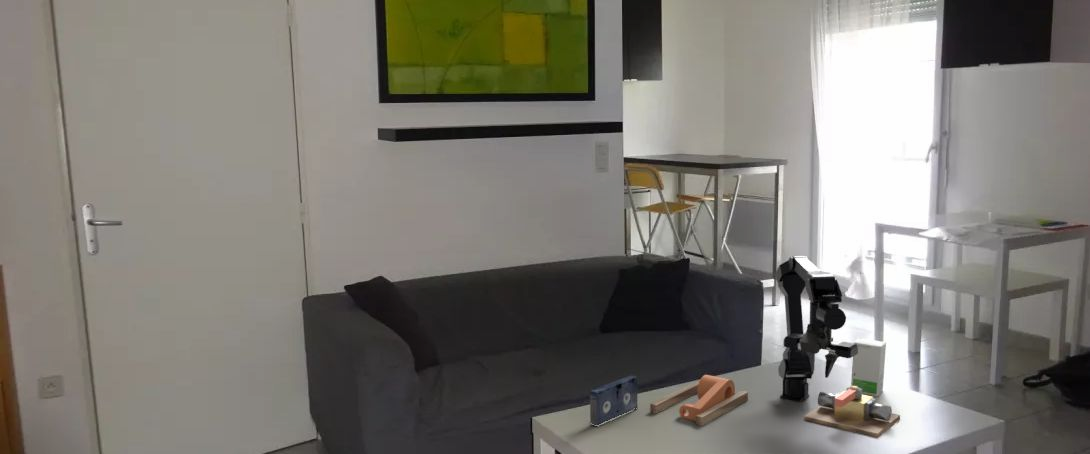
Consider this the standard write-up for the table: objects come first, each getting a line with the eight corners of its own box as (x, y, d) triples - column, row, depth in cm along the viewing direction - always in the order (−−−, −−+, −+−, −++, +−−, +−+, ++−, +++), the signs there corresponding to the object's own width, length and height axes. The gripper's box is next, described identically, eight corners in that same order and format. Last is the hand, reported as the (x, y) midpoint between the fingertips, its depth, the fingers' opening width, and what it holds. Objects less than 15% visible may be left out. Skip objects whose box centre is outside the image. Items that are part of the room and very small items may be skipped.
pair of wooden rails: (650, 412, 235) (650, 403, 235) (697, 388, 254) (697, 380, 254) (702, 426, 224) (702, 417, 224) (747, 400, 243) (748, 391, 243)
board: (804, 419, 227) (804, 416, 227) (829, 402, 240) (829, 399, 240) (877, 437, 214) (877, 433, 214) (899, 418, 227) (900, 415, 226)
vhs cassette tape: (631, 407, 240) (631, 374, 238) (639, 410, 237) (639, 376, 236) (588, 425, 227) (588, 390, 225) (596, 427, 225) (596, 392, 223)
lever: (849, 392, 229) (850, 383, 229) (864, 395, 227) (864, 386, 226) (830, 405, 220) (831, 396, 219) (845, 408, 217) (846, 399, 217)
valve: (815, 410, 231) (815, 393, 230) (825, 403, 236) (825, 386, 236) (884, 426, 219) (884, 408, 218) (893, 418, 224) (893, 401, 223)
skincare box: (850, 392, 248) (851, 342, 246) (855, 386, 254) (857, 337, 252) (879, 397, 244) (881, 346, 241) (884, 390, 249) (886, 340, 247)
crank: (710, 397, 247) (711, 371, 246) (734, 402, 242) (735, 376, 241) (675, 416, 232) (675, 389, 231) (700, 422, 227) (700, 395, 226)
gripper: (774, 320, 222) (773, 376, 224) (843, 331, 210) (841, 390, 212) (792, 312, 230) (791, 366, 232) (859, 323, 218) (857, 379, 220)
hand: (819, 375), depth 224 cm, fingers open, 4 cm apart
